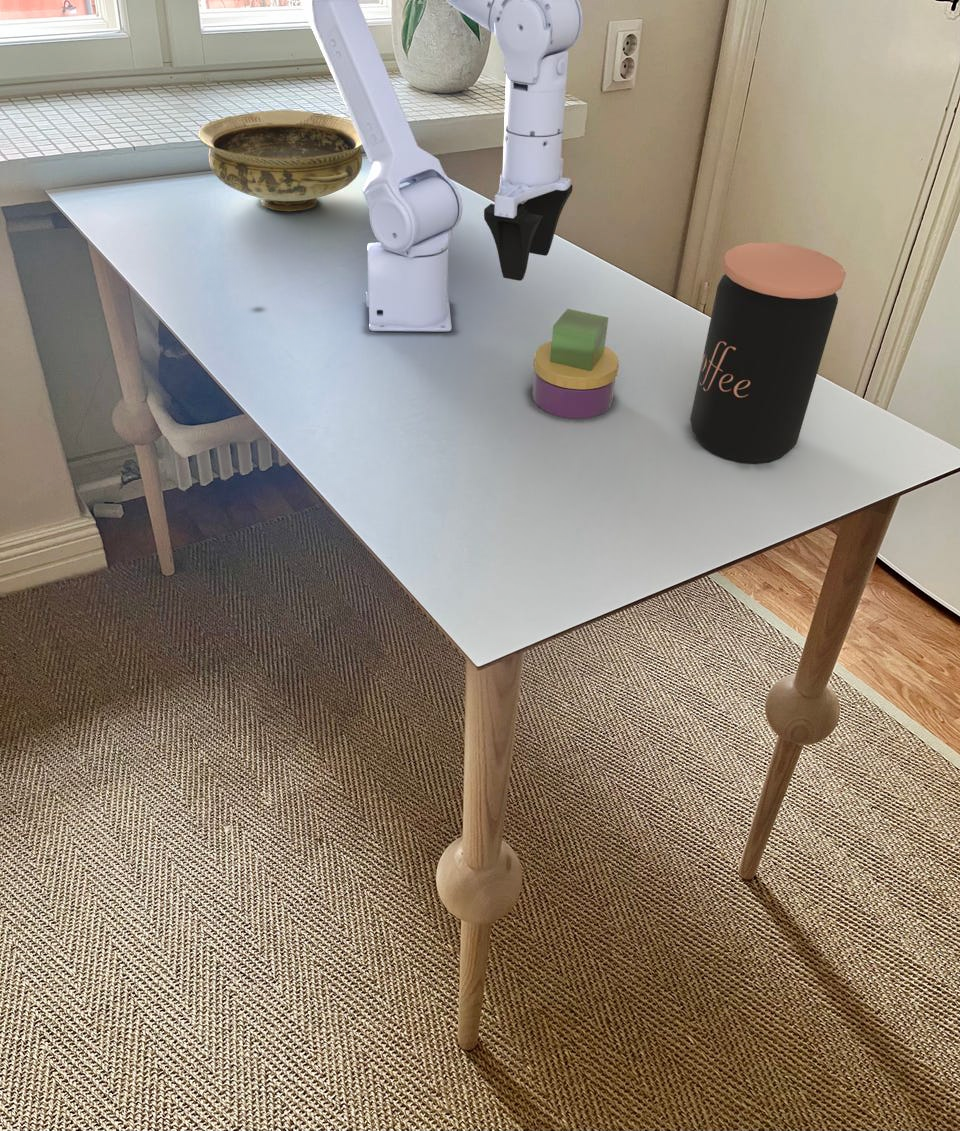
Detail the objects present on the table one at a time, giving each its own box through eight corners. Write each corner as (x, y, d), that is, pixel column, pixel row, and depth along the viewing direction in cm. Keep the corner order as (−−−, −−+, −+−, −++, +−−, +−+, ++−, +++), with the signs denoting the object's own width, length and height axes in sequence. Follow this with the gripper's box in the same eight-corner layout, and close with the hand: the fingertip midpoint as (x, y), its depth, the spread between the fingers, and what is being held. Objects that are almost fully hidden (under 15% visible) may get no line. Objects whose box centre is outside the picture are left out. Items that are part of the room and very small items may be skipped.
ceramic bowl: (412, 220, 141) (412, 148, 134) (259, 251, 130) (251, 173, 123) (315, 162, 159) (310, 96, 153) (174, 184, 148) (163, 114, 142)
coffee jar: (676, 411, 101) (709, 241, 90) (775, 411, 102) (821, 242, 91) (703, 468, 93) (743, 288, 82) (811, 467, 94) (865, 289, 83)
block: (591, 371, 97) (595, 334, 95) (549, 361, 99) (553, 325, 96) (603, 353, 101) (608, 317, 98) (563, 344, 102) (567, 308, 99)
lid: (538, 389, 97) (539, 378, 96) (529, 349, 103) (530, 338, 103) (624, 390, 97) (626, 378, 97) (609, 350, 104) (611, 338, 103)
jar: (537, 418, 99) (540, 381, 96) (528, 378, 105) (531, 343, 103) (618, 418, 100) (624, 382, 97) (604, 379, 106) (609, 343, 103)
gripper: (547, 153, 88) (538, 297, 97) (595, 116, 99) (583, 249, 107) (475, 143, 90) (472, 284, 99) (530, 108, 101) (523, 238, 109)
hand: (526, 265), depth 103 cm, fingers open, 7 cm apart
